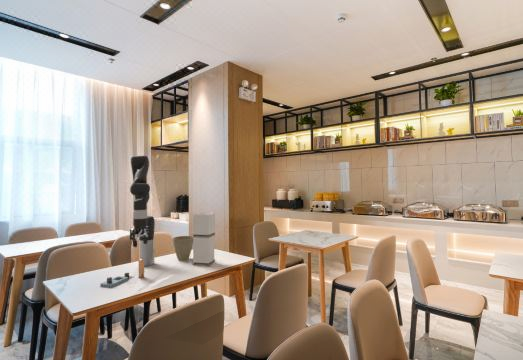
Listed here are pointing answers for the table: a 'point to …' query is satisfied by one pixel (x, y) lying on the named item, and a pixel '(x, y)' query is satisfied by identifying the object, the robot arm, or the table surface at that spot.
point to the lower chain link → (127, 276)
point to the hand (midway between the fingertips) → (140, 245)
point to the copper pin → (141, 268)
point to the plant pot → (183, 247)
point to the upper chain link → (113, 281)
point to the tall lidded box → (203, 239)
